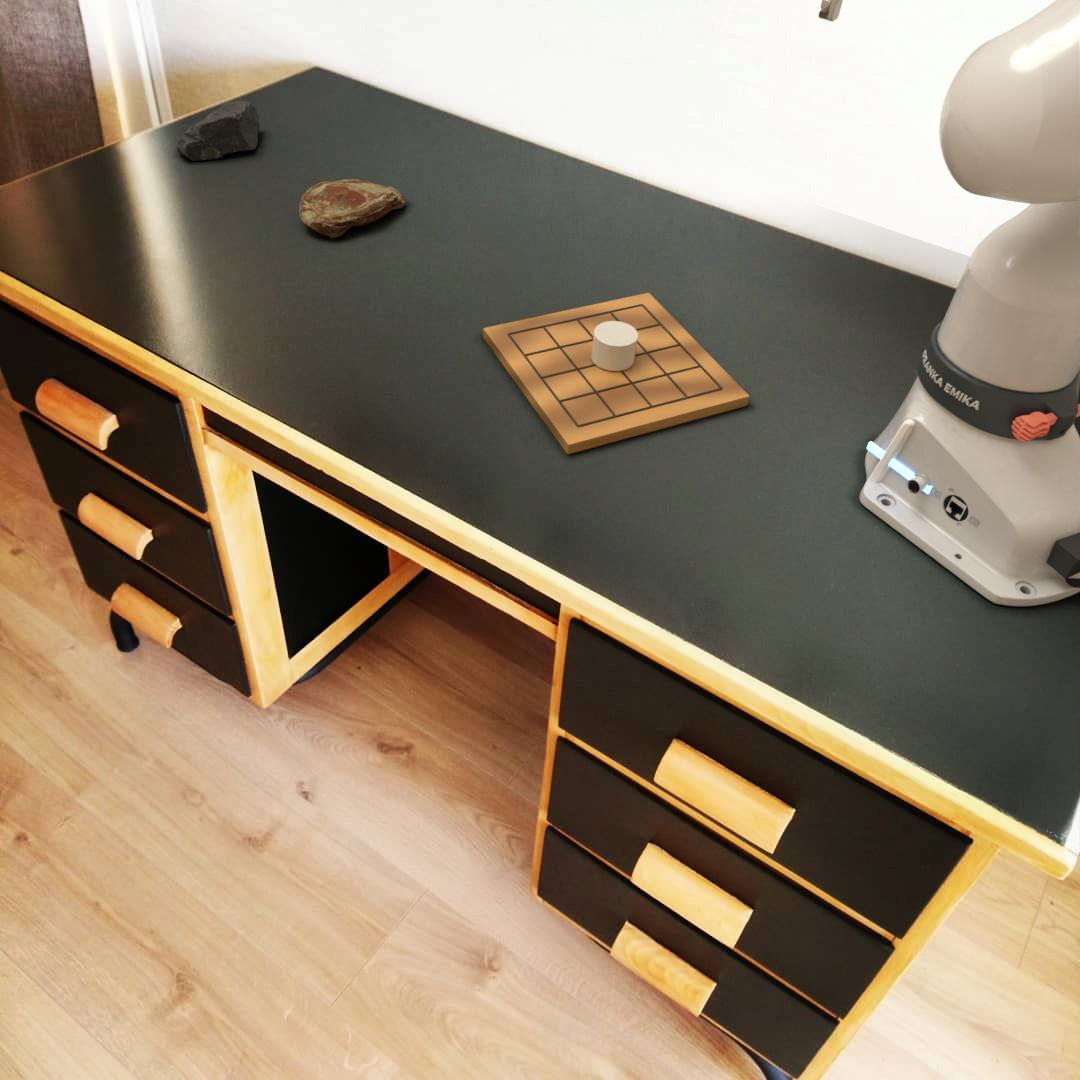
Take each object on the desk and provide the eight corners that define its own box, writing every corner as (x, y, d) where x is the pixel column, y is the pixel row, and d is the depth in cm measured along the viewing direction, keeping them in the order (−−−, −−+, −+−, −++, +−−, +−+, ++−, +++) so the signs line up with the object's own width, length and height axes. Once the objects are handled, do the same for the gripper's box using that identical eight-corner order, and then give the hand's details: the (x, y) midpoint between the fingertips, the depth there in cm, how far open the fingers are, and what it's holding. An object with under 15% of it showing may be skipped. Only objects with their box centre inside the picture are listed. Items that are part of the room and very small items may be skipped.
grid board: (747, 405, 93) (750, 395, 92) (567, 454, 86) (568, 443, 85) (647, 301, 105) (649, 291, 104) (482, 337, 98) (483, 326, 97)
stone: (346, 186, 120) (344, 162, 118) (412, 204, 117) (411, 180, 115) (280, 228, 112) (276, 203, 110) (350, 249, 109) (347, 224, 107)
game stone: (642, 365, 94) (646, 340, 92) (603, 375, 93) (606, 349, 91) (621, 342, 97) (625, 317, 95) (583, 350, 96) (586, 325, 93)
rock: (179, 171, 122) (252, 155, 121) (160, 125, 119) (235, 107, 118) (201, 153, 131) (269, 137, 130) (184, 109, 127) (253, 93, 127)
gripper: (703, -178, 86) (678, -11, 96) (918, -137, 79) (867, 40, 89) (734, -186, 90) (707, -24, 100) (942, -147, 82) (890, 24, 92)
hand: (784, 7), depth 94 cm, fingers open, 8 cm apart
